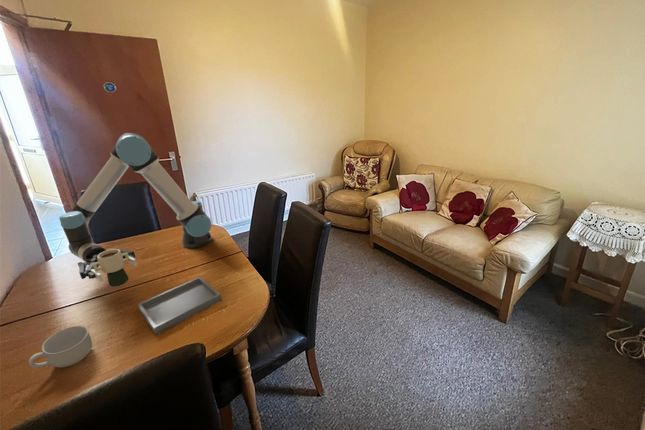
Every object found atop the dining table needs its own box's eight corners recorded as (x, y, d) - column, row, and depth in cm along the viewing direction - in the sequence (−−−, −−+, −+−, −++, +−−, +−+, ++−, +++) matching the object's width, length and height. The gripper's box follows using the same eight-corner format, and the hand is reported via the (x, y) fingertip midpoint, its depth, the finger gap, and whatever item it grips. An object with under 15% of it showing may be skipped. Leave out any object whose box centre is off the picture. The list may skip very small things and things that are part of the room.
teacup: (93, 338, 95) (84, 319, 92) (99, 357, 88) (90, 337, 85) (36, 364, 86) (25, 344, 83) (37, 388, 79) (25, 367, 76)
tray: (201, 282, 124) (199, 276, 122) (221, 300, 112) (220, 294, 111) (139, 310, 108) (137, 304, 106) (155, 335, 96) (153, 328, 95)
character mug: (133, 273, 115) (123, 244, 110) (138, 280, 110) (128, 250, 105) (100, 285, 107) (88, 255, 102) (104, 294, 103) (92, 262, 98)
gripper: (127, 250, 126) (153, 264, 114) (61, 276, 108) (84, 296, 96) (122, 234, 123) (148, 247, 111) (53, 259, 105) (76, 277, 93)
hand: (118, 270), depth 104 cm, fingers closed on character mug, 11 cm apart
